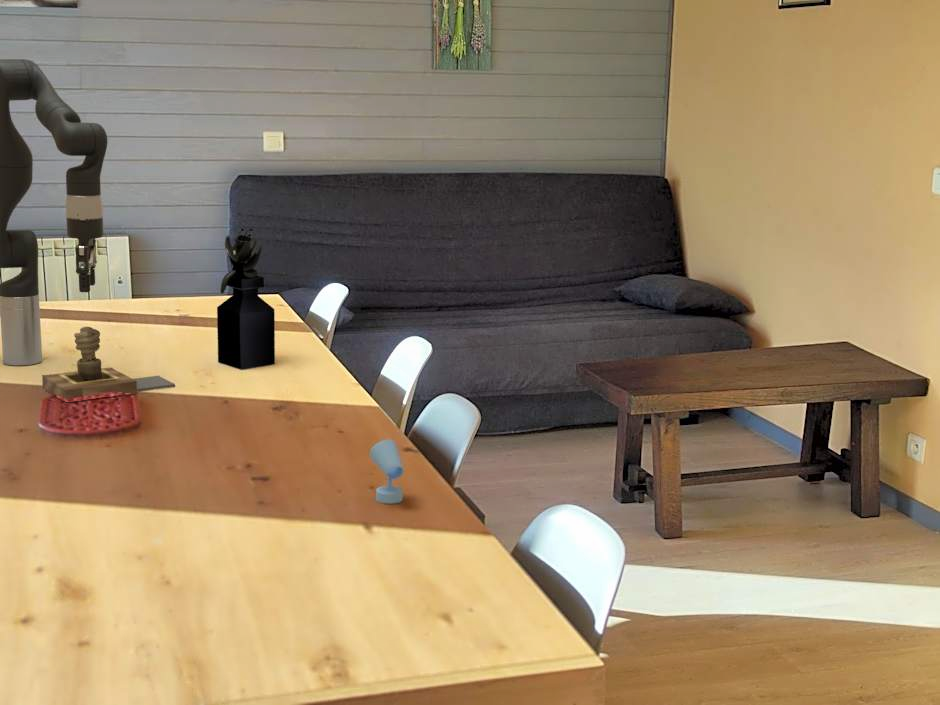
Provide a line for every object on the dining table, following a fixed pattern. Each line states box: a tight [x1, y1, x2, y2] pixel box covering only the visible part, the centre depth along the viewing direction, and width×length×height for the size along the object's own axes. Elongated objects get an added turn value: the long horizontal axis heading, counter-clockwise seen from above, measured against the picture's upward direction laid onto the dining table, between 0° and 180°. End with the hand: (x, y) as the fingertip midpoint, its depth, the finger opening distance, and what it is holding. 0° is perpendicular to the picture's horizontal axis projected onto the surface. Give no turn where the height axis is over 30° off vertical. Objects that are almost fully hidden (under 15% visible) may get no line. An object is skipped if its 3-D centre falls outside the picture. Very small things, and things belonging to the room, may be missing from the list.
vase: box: [216, 228, 276, 371], centre depth 278 cm, size 14×12×35 cm
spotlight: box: [369, 439, 405, 505], centre depth 184 cm, size 5×10×7 cm
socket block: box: [41, 367, 138, 399], centre depth 249 cm, size 16×16×3 cm
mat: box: [133, 375, 176, 393], centre depth 256 cm, size 10×10×1 cm
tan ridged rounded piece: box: [73, 326, 102, 382], centre depth 248 cm, size 6×6×15 cm
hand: (87, 288), depth 242 cm, fingers open, 8 cm apart
